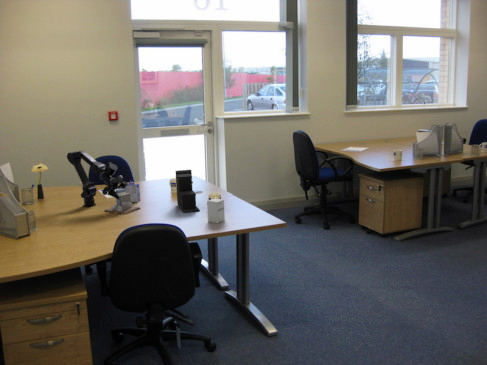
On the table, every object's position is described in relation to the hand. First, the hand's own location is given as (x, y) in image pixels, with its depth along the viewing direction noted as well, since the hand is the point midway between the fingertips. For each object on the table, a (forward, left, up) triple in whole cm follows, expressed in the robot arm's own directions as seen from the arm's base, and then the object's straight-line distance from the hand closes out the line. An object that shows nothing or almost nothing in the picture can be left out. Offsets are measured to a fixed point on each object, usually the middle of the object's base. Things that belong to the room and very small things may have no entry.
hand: (122, 197), depth 302 cm
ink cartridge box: (-9, +22, -9) cm, 25 cm away
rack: (-1, 0, -8) cm, 8 cm away
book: (-1, 0, -7) cm, 7 cm away
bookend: (+38, +18, -9) cm, 43 cm away
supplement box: (+70, -4, -9) cm, 70 cm away
